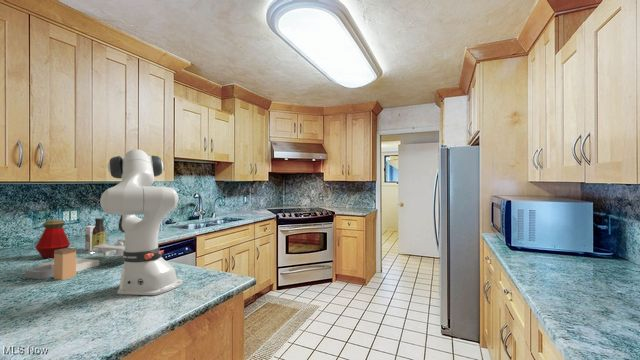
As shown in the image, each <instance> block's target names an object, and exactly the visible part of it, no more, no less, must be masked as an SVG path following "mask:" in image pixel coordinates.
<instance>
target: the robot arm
mask: <svg viewBox="0 0 640 360" xmlns="http://www.w3.org/2000/svg"><path fill="white" fill-rule="evenodd" d="M107 171H108V173H109V174H110V175H111V177H113V178H115V179H118V180H119V179H121V181H120V182H118V183H117V184H116V185H114V186H112V187H108V188H106V190H105V191H104V192H103V193H102V194H101V196H100V199H99V202H100V207H101V209H102V210H103V212H104V213H105V214H107V215H117V216H119V217H120V218H119V221H118V229H119V232H121V233H124V237H123V238H119V239H118V240H117V241H116V242H115V243H105V244H102V245H96V246H93V250H88V255H95V254H98V255H99V254H100V255H102V256H104V257H108V256H120V257H122V260H123V266H122V270H121V272H120V273H121V275H120V280H119V281H120V282H119V287H118V290H117V292H116V294H117V295H130V296H131V295H134V296H135V295H137V296H139V295H141V296H156V295H160V294H163V293H167V292H169V291H172V290H174V289H176V288H178V287H180V286H181V285H182V284H183V283H184V281H183V279H181V278H177V274H176V269H175V267H173V265H171V264H170V263H168V261H166V260H165V259H164V258H163V257H162V256H163V255H162V254H163V253H164V251H165V250H164V249H163V250H160V247H159V233H160V232H159V231H160V228H161V225H162V223H163V221H164V219H165V218H166V217H167V216H168V215H169V214H170V213H171V212H172V211H174V210H175V209H176V207H178V204H179V194H178V192H177V191H176V189H174V187H173V188H172V187H168V186H164V185H163V186H161V185H160V186H159V185H158V186H157V185H155V186H154V185H153V184H154V183H155V177H159V176H160V175H162V173H163V171H164V163H163V161H162V159H161V157H160V156H157V155H148V153H147V152H146V151H144V150H143V149H138V148H137V149H130V150H128V151H127V152H126V153H125V155H122V156H120V155H118V156H113V157H111V158H110V159H109V161H108V164H107ZM152 185H153V186H152ZM137 215H143V218H141V217H138V216H137Z"/></svg>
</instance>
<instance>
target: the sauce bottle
mask: <svg viewBox="0 0 640 360" xmlns="http://www.w3.org/2000/svg"><path fill="white" fill-rule="evenodd" d="M104 220H105V218H104V217H95V219H94V222H95V224H94V225H95V227H94V228H93V231H92V248H91V249H92V250H93V246H96V245H102V244H106V234H107V233H106V229H105V226H104Z"/></svg>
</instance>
